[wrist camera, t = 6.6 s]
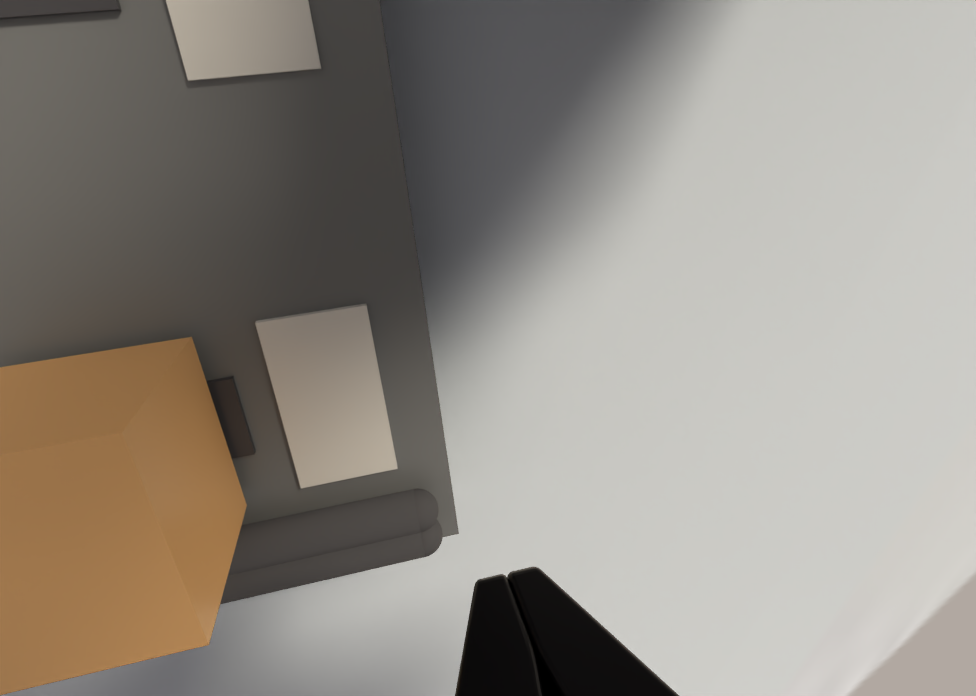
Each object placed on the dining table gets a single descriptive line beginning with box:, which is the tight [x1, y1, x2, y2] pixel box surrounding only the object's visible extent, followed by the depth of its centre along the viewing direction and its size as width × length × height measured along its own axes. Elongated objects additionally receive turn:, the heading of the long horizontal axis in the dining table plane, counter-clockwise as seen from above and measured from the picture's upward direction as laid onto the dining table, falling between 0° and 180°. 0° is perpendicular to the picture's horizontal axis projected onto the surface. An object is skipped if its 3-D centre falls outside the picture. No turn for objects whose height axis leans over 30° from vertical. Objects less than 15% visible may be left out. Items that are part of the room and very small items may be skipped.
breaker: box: [0, 337, 247, 695], centre depth 11 cm, size 4×4×4 cm
